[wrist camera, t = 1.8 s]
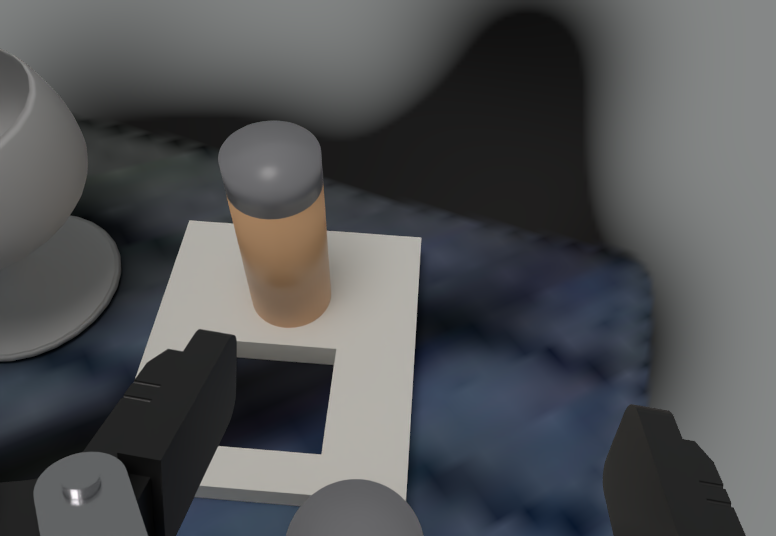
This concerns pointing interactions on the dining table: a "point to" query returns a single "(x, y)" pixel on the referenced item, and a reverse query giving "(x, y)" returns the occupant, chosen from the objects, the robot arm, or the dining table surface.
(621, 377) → the dining table surface
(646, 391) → the dining table surface
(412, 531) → the grey-capped tan peg
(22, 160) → the chalice
